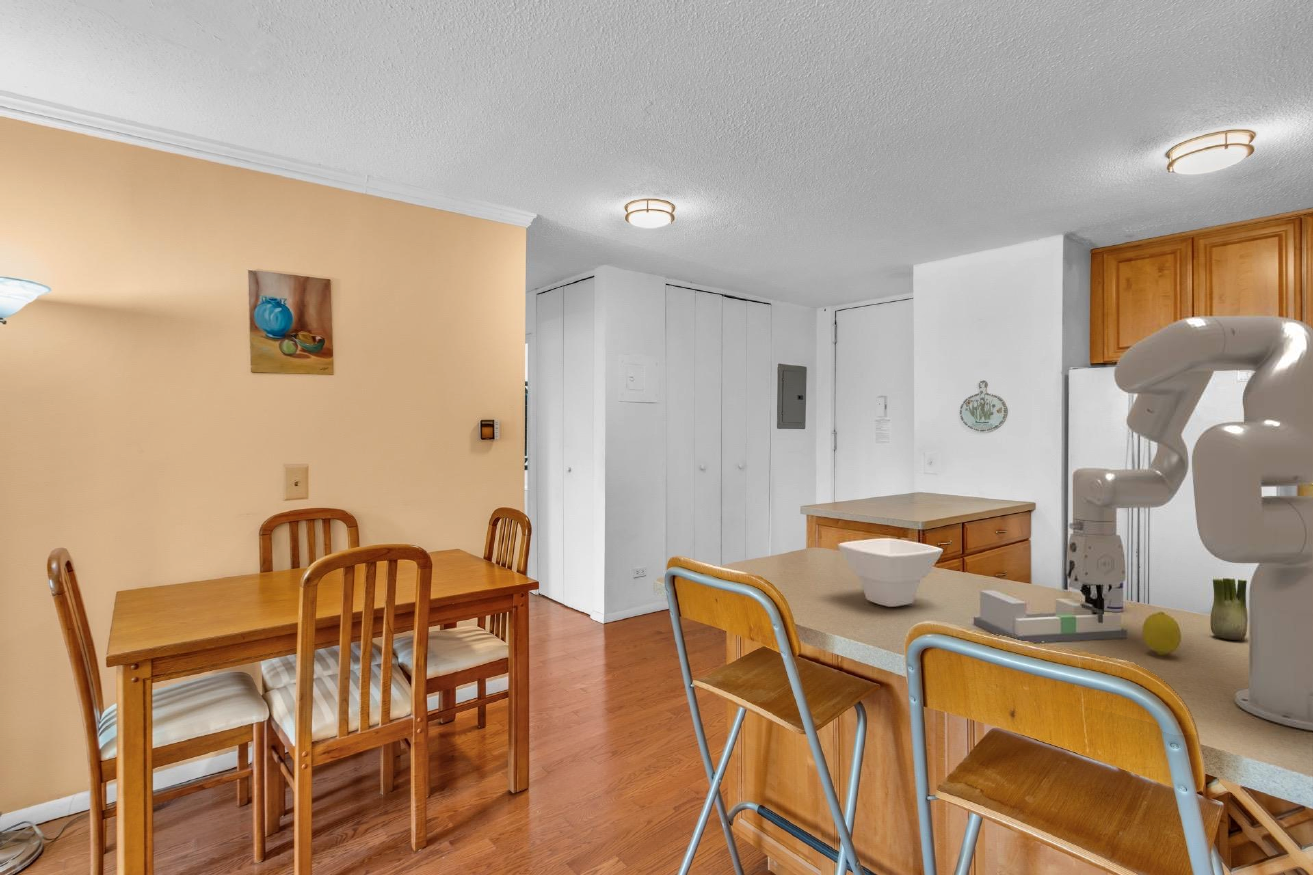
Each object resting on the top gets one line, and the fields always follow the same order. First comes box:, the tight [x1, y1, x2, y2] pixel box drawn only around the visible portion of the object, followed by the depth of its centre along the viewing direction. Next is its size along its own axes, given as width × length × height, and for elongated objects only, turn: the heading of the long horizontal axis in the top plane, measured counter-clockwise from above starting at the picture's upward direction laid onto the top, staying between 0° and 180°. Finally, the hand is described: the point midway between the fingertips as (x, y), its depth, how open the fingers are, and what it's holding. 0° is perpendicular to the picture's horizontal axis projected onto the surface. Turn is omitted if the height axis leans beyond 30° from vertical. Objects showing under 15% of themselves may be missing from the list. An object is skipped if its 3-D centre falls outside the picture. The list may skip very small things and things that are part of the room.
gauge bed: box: [973, 589, 1128, 644], centre depth 132 cm, size 13×24×8 cm, turn 97°
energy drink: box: [1104, 582, 1124, 613], centre depth 147 cm, size 5×5×12 cm
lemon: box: [1141, 611, 1182, 656], centre depth 117 cm, size 6×6×8 cm
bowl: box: [837, 537, 944, 608], centre depth 153 cm, size 19×19×14 cm
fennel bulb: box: [1210, 577, 1249, 641], centre depth 126 cm, size 6×5×12 cm
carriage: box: [1054, 598, 1103, 623], centre depth 130 cm, size 10×5×4 cm, turn 7°
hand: (1094, 615), depth 133 cm, fingers closed
